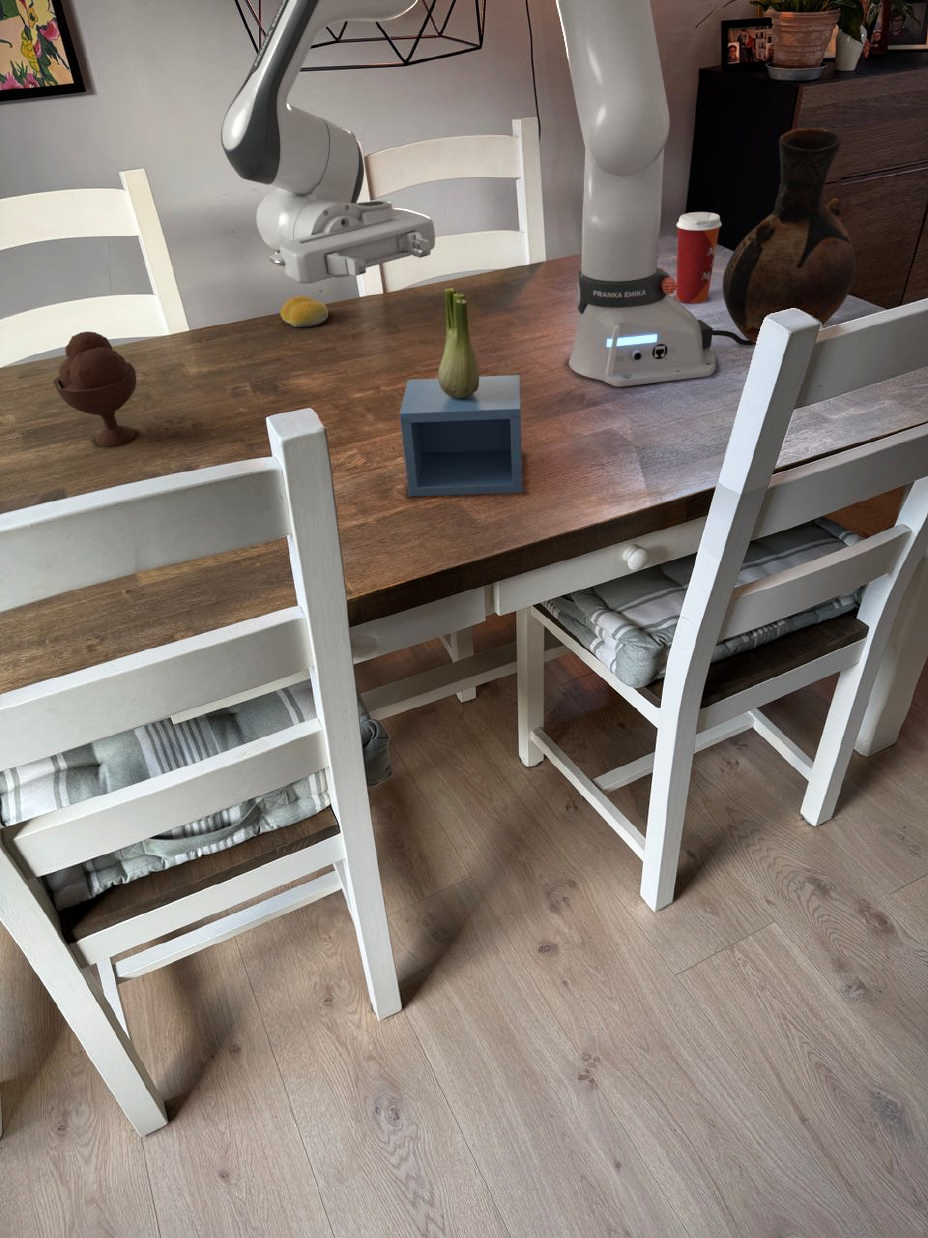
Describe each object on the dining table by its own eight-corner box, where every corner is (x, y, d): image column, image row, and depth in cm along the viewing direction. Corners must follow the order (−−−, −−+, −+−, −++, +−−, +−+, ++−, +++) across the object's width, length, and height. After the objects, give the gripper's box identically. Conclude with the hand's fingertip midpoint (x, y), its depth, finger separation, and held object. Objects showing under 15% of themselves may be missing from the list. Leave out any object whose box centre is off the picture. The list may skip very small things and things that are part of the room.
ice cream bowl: (62, 442, 124) (23, 340, 115) (131, 415, 131) (99, 316, 121) (98, 462, 118) (60, 357, 109) (168, 433, 125) (137, 331, 115)
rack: (521, 455, 113) (519, 374, 106) (522, 493, 105) (520, 408, 98) (416, 458, 114) (407, 379, 107) (409, 496, 106) (399, 413, 99)
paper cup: (717, 303, 154) (727, 220, 146) (674, 306, 155) (681, 223, 146) (708, 290, 160) (717, 209, 152) (666, 292, 161) (673, 212, 152)
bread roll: (301, 331, 156) (297, 309, 154) (276, 320, 162) (271, 299, 159) (338, 319, 160) (335, 297, 158) (312, 309, 166) (309, 288, 163)
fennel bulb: (476, 403, 100) (470, 299, 92) (435, 403, 100) (426, 299, 93) (483, 384, 104) (478, 282, 97) (444, 383, 105) (436, 283, 98)
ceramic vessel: (790, 312, 148) (824, 114, 130) (868, 342, 136) (918, 127, 117) (691, 337, 142) (712, 132, 123) (763, 371, 129) (799, 148, 111)
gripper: (257, 230, 104) (313, 249, 95) (395, 197, 114) (458, 212, 105) (268, 283, 108) (323, 307, 99) (400, 247, 117) (462, 265, 108)
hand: (393, 258), depth 102 cm, fingers open, 8 cm apart
